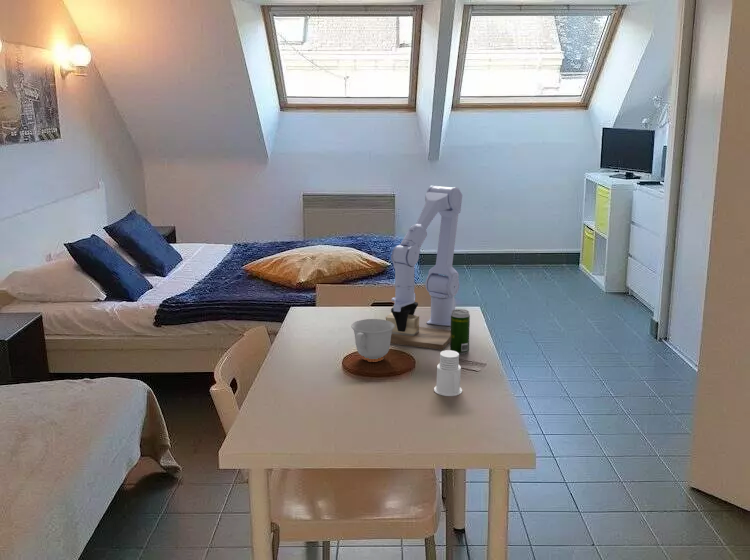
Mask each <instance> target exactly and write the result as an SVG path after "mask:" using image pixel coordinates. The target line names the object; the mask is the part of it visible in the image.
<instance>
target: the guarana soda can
mask: <svg viewBox="0 0 750 560" xmlns="http://www.w3.org/2000/svg"><path fill="white" fill-rule="evenodd" d="M470 320H471V314H470V311H469V310H467V309H464V308H463V309H461V308H458V309H456V308H455V310H452V313H451V326H450V330H451V334H450V342H449V346H450V347H449V350H452V351H456V352H458V353H459V356H463V355H466V354H468V353H469V351H470V327H471V326H470V324H471V323H470V322H471V321H470Z"/></svg>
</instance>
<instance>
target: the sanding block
mask: <svg viewBox="0 0 750 560" xmlns="http://www.w3.org/2000/svg"><path fill="white" fill-rule="evenodd" d="M385 320H387V321H390V322H392V323H393V324H394V325H395V327H394V328H393V329H392V334H399V335H408V336H415V335H416V334H417V333H418V332H419V327H420V315H417V314H416V315H415V314H414V315H408V318H407V324H406V330H405V332H402V331H398V329H397V325H396V321H395V318H394V316H393V314H392V312H390V313H389V314H388V315H387V316H385Z"/></svg>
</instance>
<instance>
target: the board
mask: <svg viewBox="0 0 750 560" xmlns="http://www.w3.org/2000/svg"><path fill="white" fill-rule="evenodd" d="M450 334H451V329H443V328H433V327H424V326H419V332H418V333H417V334H416V335H415V336H408V335H399V334H391V341H390V345H391V344H392V345H402V346H409V347H418V348H424V349H425V348H426V349H432V350H433V349H434V350H441V351H444V349H445V348H446V347H447V346H448V345H449V344H450Z"/></svg>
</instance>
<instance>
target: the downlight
mask: <svg viewBox="0 0 750 560" xmlns="http://www.w3.org/2000/svg"><path fill="white" fill-rule="evenodd" d="M459 360H460V355H459V353H458V352H456V351H452V350H450V349H447V350H441V351H440V354H439V363H438V364H437V365H436V385H435V386H434V388H433V391H434V392H435V394H437V395H439V396H443V397H455V396H458V395H460V394H462V392H463V388H462V387H461V372H462V366H461V365H460V364H459Z"/></svg>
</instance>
